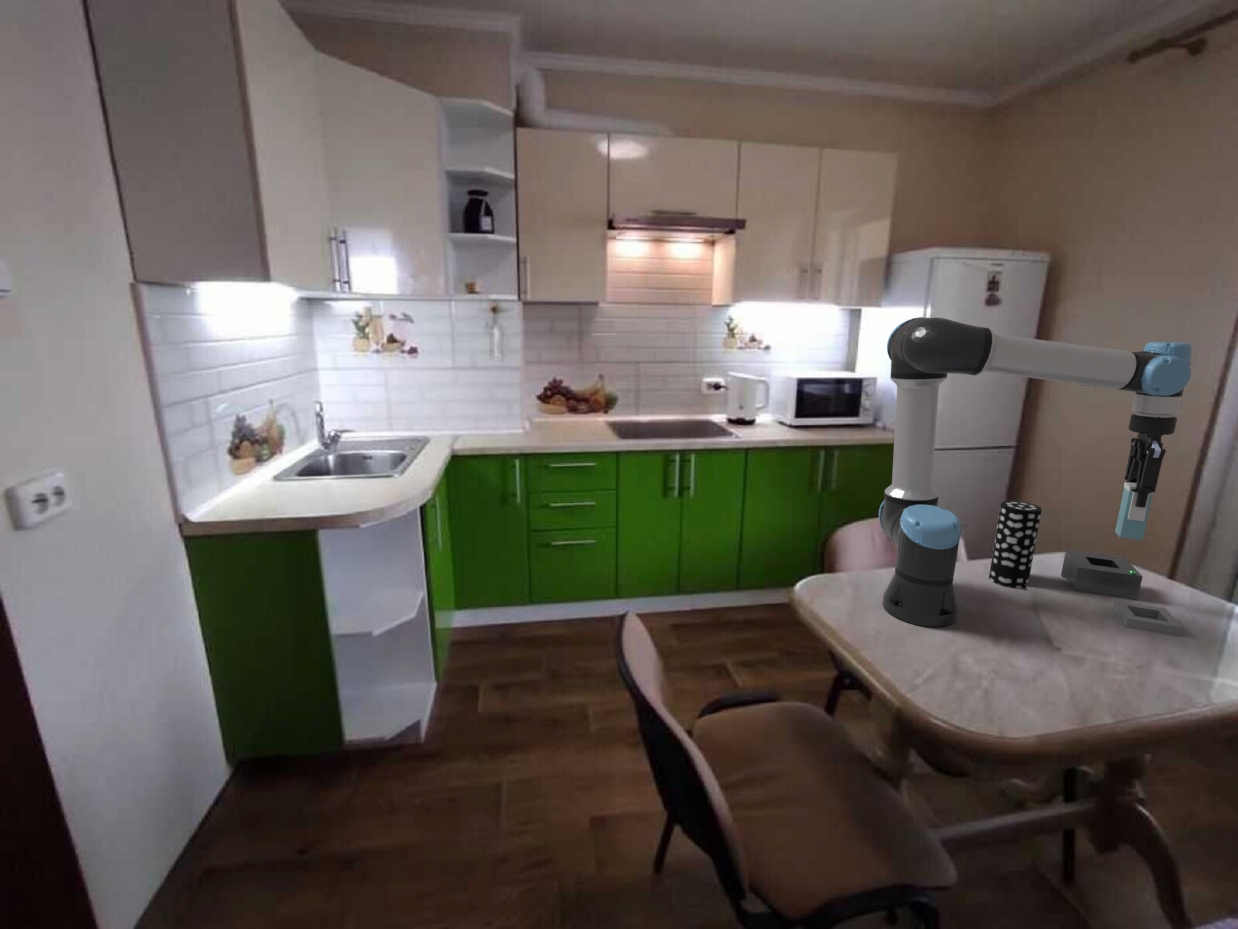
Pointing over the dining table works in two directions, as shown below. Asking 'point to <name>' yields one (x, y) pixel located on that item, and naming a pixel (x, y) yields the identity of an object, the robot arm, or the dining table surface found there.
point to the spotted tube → (1014, 543)
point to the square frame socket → (1147, 618)
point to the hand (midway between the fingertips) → (1132, 516)
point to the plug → (1125, 526)
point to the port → (1101, 575)
